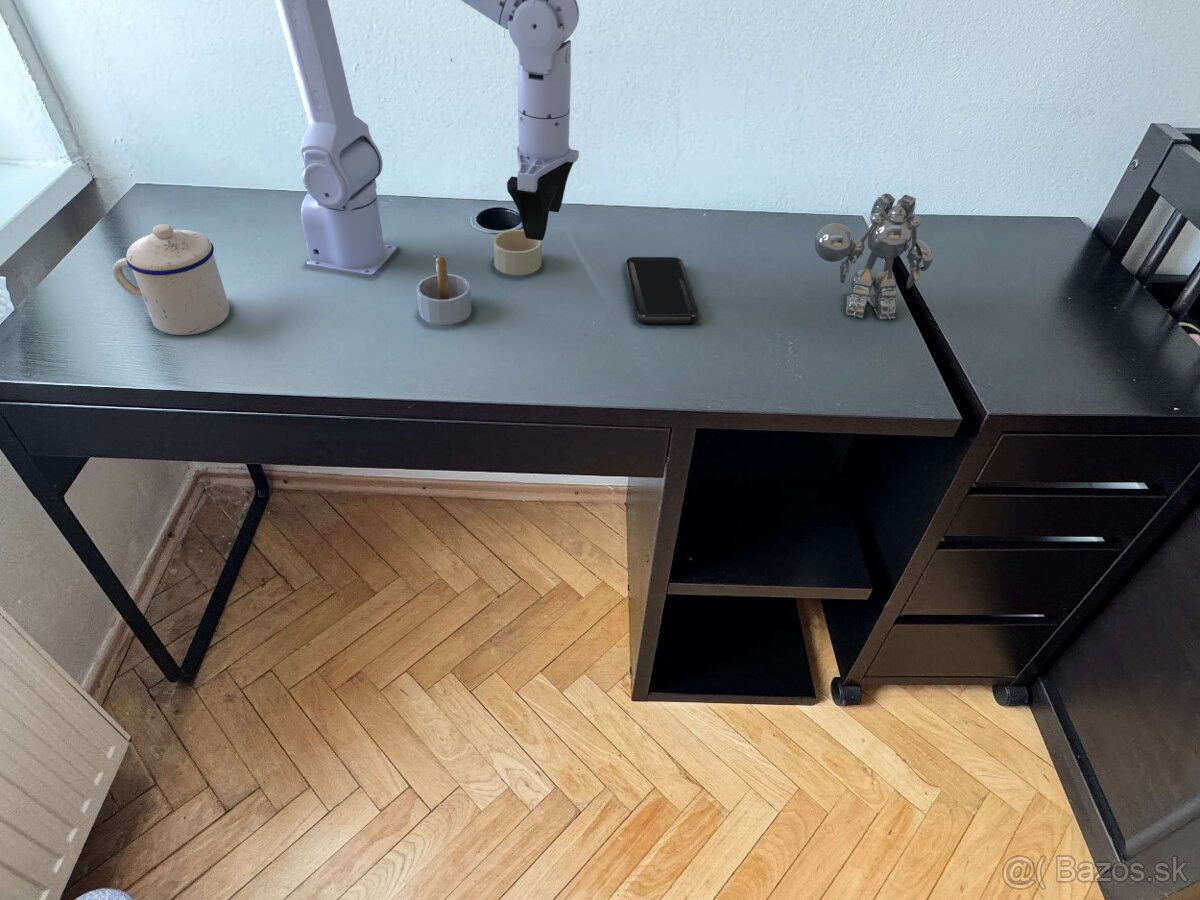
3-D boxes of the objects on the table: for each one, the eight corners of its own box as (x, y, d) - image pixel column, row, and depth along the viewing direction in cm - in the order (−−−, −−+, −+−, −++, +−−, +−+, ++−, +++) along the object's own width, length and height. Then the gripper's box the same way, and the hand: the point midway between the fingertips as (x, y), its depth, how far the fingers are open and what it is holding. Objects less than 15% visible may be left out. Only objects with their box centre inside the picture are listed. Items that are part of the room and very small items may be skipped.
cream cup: (487, 273, 108) (486, 248, 105) (502, 251, 112) (501, 226, 110) (533, 281, 107) (533, 255, 104) (546, 258, 111) (546, 233, 109)
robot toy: (802, 315, 104) (830, 206, 94) (796, 290, 108) (822, 184, 98) (916, 323, 104) (957, 215, 94) (905, 298, 108) (943, 192, 98)
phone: (638, 316, 99) (625, 256, 110) (637, 324, 100) (625, 263, 111) (700, 316, 100) (682, 257, 111) (699, 324, 101) (681, 264, 112)
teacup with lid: (243, 298, 100) (218, 211, 92) (215, 340, 93) (185, 249, 86) (147, 292, 100) (114, 204, 92) (112, 333, 93) (73, 242, 85)
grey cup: (411, 323, 98) (408, 296, 96) (431, 296, 103) (428, 270, 100) (461, 331, 97) (459, 304, 95) (478, 304, 102) (477, 278, 99)
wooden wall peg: (433, 316, 98) (428, 262, 93) (431, 307, 100) (425, 253, 95) (459, 313, 99) (455, 259, 94) (456, 304, 101) (452, 250, 96)
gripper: (563, 138, 83) (560, 256, 92) (593, 92, 93) (588, 203, 102) (497, 129, 83) (501, 247, 93) (534, 85, 94) (534, 195, 103)
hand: (543, 223), depth 98 cm, fingers open, 7 cm apart
